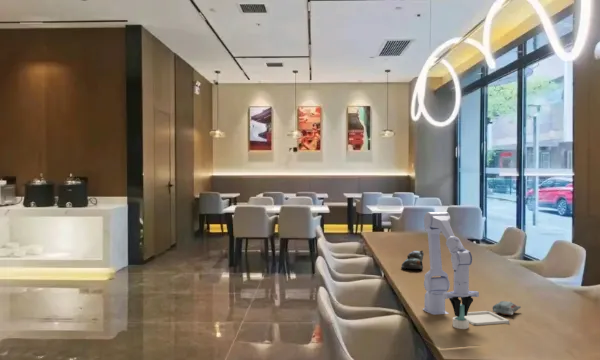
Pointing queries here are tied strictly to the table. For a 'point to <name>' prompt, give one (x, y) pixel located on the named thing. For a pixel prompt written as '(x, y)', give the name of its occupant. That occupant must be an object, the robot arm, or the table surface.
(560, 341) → the table surface
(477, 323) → the tray
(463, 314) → the dowel
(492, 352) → the table surface
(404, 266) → the grey stacked sacks
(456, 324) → the bowl
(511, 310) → the packaged food
